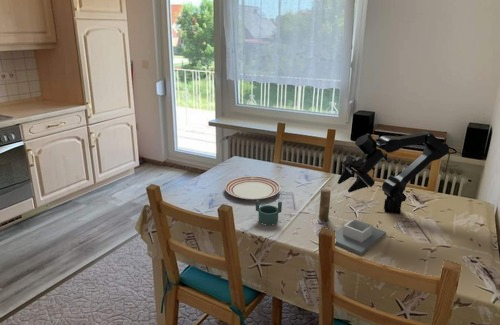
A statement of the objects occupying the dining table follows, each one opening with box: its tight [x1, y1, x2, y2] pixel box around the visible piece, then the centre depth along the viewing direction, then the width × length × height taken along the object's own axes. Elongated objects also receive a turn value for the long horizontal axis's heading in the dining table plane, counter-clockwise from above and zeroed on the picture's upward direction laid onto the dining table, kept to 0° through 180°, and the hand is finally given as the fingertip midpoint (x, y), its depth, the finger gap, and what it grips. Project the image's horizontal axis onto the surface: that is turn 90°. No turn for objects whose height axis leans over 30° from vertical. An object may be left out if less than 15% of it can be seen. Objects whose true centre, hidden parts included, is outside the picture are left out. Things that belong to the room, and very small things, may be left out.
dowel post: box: [318, 188, 332, 221], centre depth 152 cm, size 4×4×12 cm
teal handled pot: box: [255, 199, 283, 226], centre depth 150 cm, size 9×9×9 cm
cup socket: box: [334, 218, 387, 256], centre depth 138 cm, size 20×14×5 cm
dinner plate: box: [224, 175, 282, 201], centre depth 179 cm, size 27×27×3 cm
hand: (343, 187), depth 151 cm, fingers open, 9 cm apart
